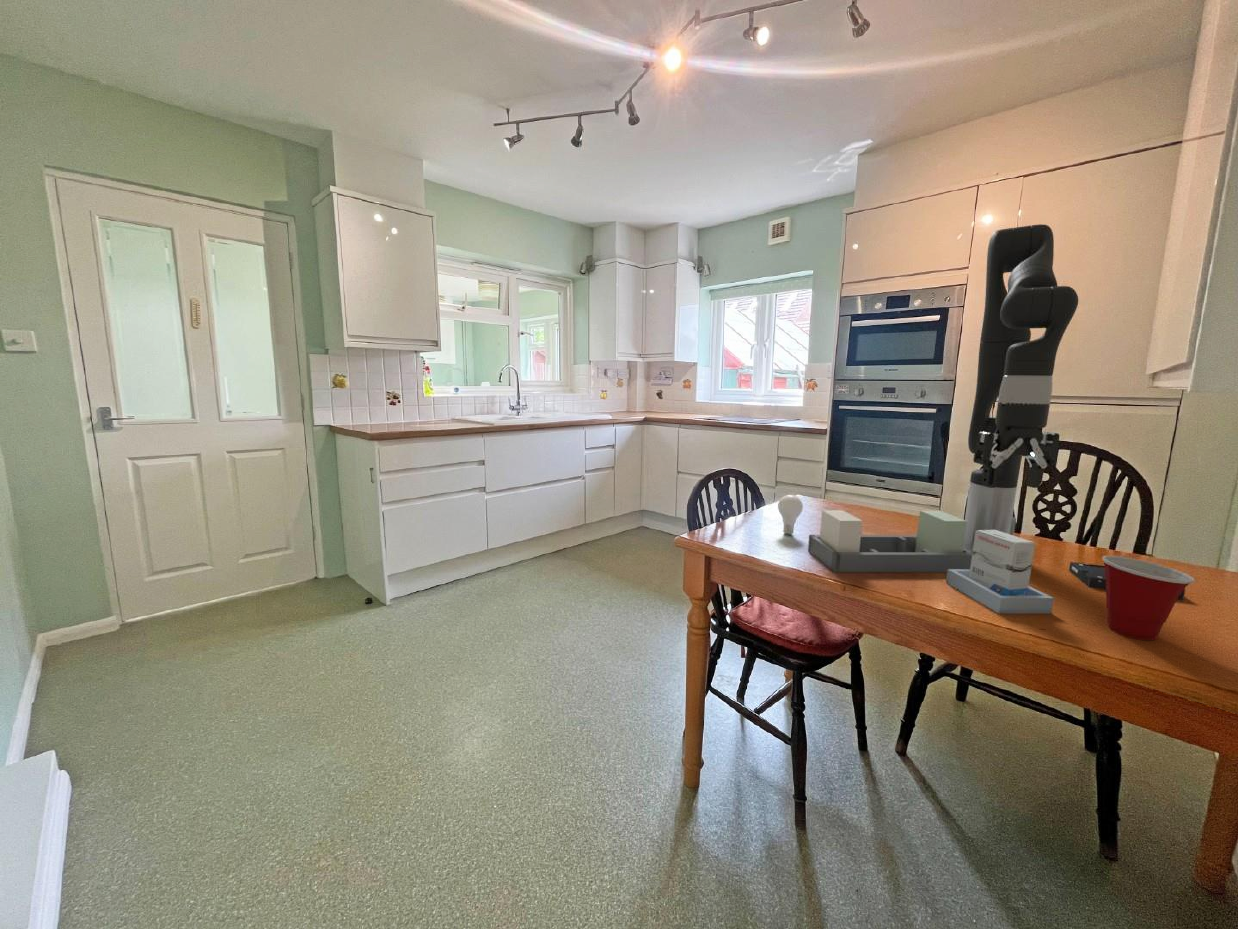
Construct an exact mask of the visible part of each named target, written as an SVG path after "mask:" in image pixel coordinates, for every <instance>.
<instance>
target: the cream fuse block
mask: <svg viewBox="0 0 1238 929" xmlns="http://www.w3.org/2000/svg"><path fill="white" fill-rule="evenodd" d="M820 521H821V522H820V531H819V532H820V533H819V535H820V540H821V541H822V542H824V543H825V544H827V545H828V546H829V547H831V548H832V549H833V550H835V551H836V552H859V549H860V539H861V535H862V527H863V520H862V519H859V518H858V517H856V516H854V515H853V514H850V513H848V512H846V511H845V510H843V509H841V510H840V509H836V510H835V509H832V510H831V509H830V510H829V509H822V511H821V519H820Z"/></svg>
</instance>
